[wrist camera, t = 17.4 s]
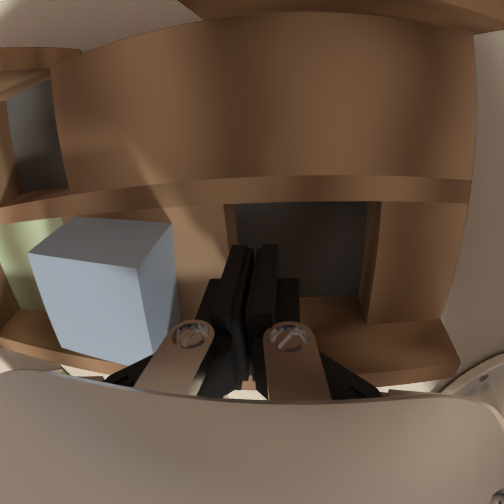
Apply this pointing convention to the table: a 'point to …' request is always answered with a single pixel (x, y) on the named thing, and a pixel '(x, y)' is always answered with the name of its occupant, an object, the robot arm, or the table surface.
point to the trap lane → (261, 163)
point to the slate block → (109, 286)
